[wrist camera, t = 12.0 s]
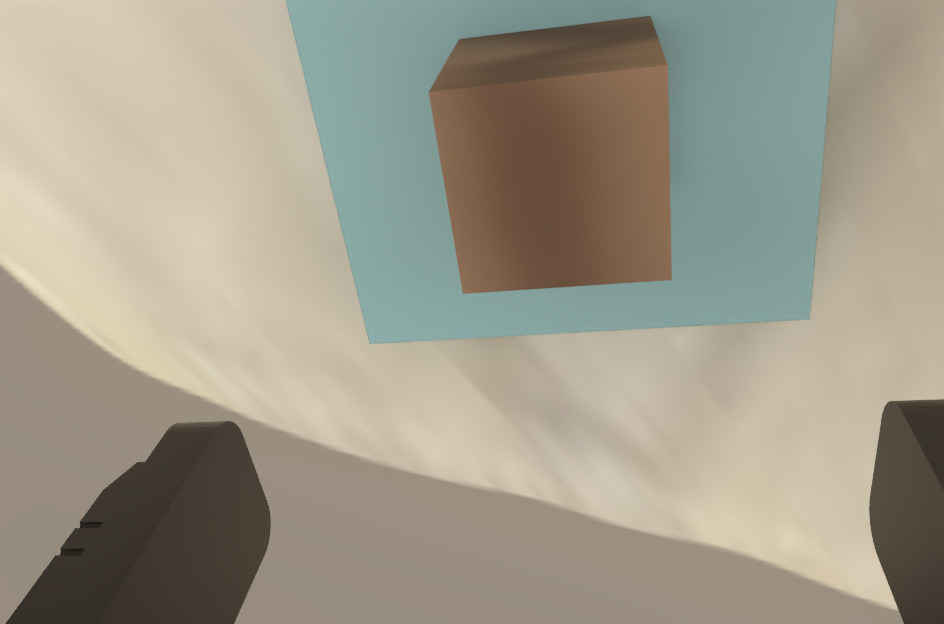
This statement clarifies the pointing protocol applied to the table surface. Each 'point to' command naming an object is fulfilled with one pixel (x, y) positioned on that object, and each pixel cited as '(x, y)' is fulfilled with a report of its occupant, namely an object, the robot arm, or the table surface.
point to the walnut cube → (557, 156)
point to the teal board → (690, 144)
